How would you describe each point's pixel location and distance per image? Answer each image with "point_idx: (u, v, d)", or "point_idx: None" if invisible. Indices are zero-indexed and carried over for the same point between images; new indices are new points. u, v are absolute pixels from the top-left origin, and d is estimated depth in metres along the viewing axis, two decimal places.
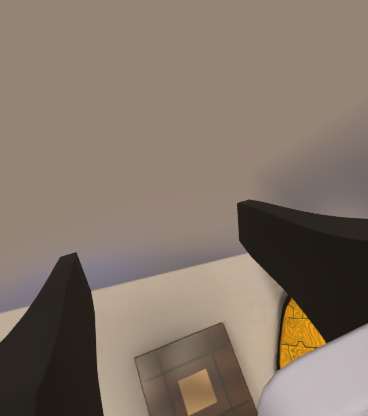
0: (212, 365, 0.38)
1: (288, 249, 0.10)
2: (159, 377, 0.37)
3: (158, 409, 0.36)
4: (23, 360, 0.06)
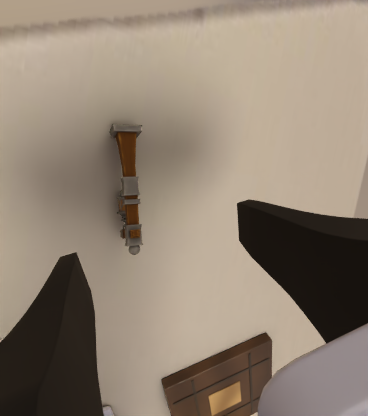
0: (241, 404, 0.36)
1: (288, 249, 0.10)
2: (247, 365, 0.33)
3: (221, 370, 0.31)
4: (23, 360, 0.06)
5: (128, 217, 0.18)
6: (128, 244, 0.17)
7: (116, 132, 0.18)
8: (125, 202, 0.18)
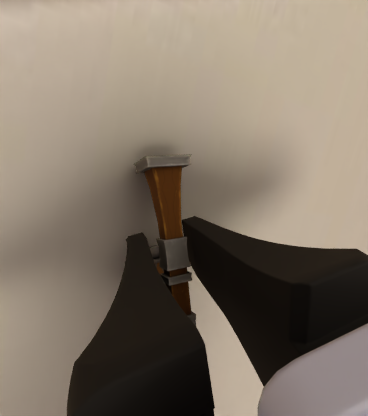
0: None
1: (222, 274, 0.10)
2: None
3: None
4: (152, 311, 0.06)
5: None
6: None
7: (149, 168, 0.11)
8: (169, 281, 0.11)
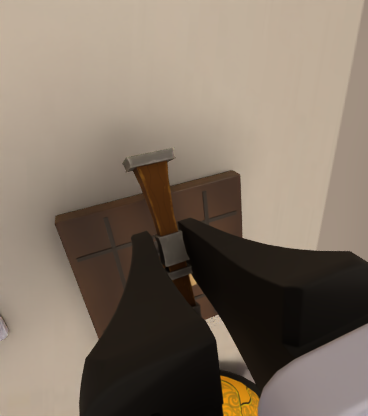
0: (197, 291, 0.24)
1: (216, 275, 0.09)
2: (202, 215, 0.21)
3: None
4: (161, 307, 0.06)
5: None
6: None
7: (133, 167, 0.11)
8: None
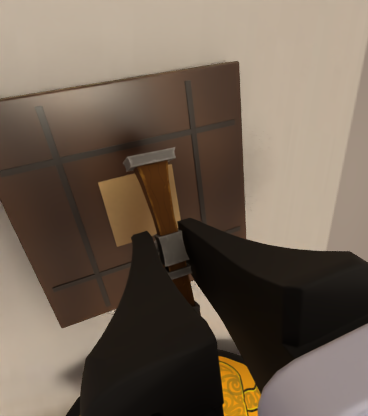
0: None
1: (216, 276, 0.09)
2: (186, 121, 0.15)
3: (120, 107, 0.14)
4: (161, 307, 0.06)
5: None
6: None
7: (134, 167, 0.11)
8: None
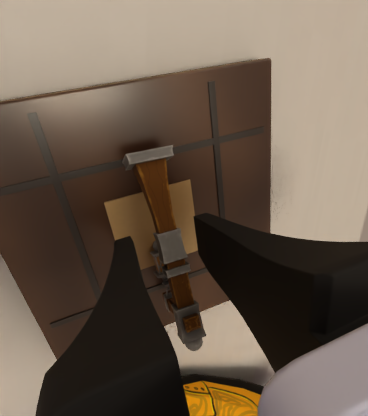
0: (201, 262, 0.16)
1: (236, 268, 0.10)
2: (208, 130, 0.13)
3: (131, 113, 0.11)
4: (130, 319, 0.06)
5: (176, 296, 0.11)
6: (184, 340, 0.11)
7: (133, 165, 0.11)
8: (167, 274, 0.11)
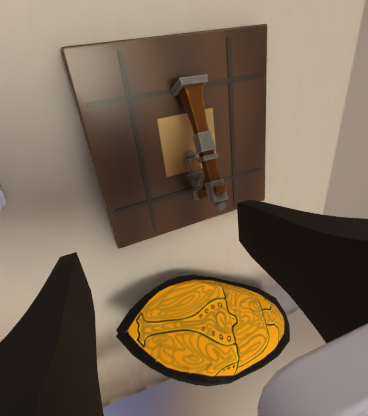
0: None
1: (288, 249, 0.10)
2: (225, 72, 0.19)
3: (178, 56, 0.17)
4: (23, 360, 0.06)
5: (209, 173, 0.17)
6: (215, 200, 0.17)
7: (182, 87, 0.17)
8: (204, 158, 0.17)
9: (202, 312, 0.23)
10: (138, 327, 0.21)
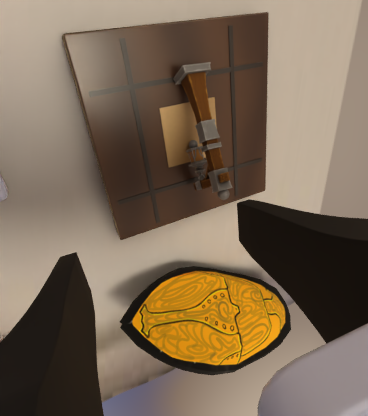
0: None
1: (288, 249, 0.10)
2: (227, 61, 0.19)
3: (180, 44, 0.17)
4: (23, 360, 0.06)
5: (213, 162, 0.17)
6: (219, 189, 0.17)
7: (185, 75, 0.17)
8: (207, 147, 0.17)
9: (204, 303, 0.23)
10: (142, 318, 0.21)
